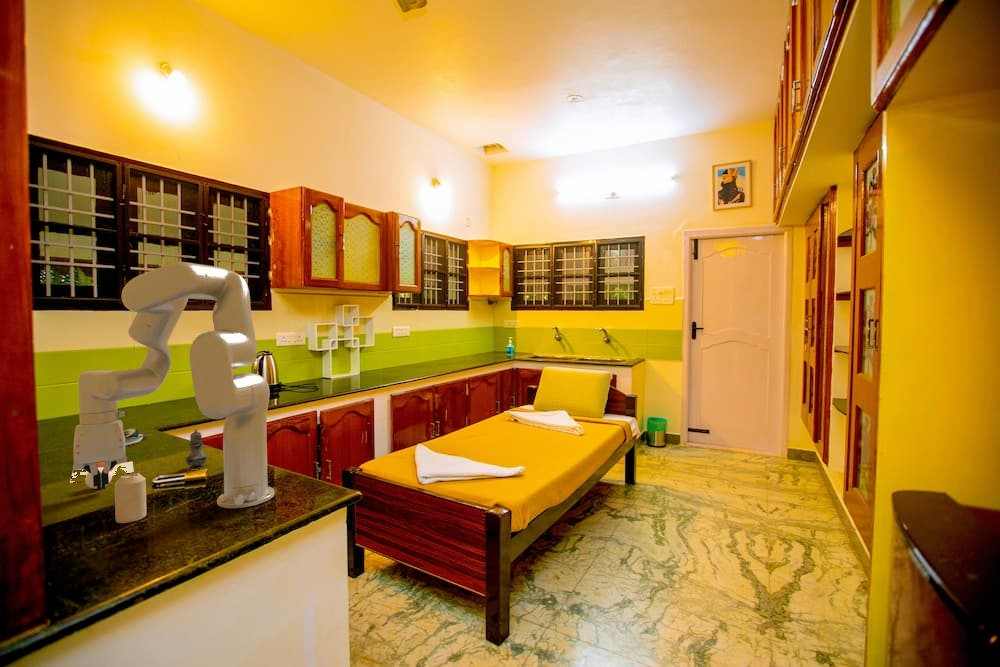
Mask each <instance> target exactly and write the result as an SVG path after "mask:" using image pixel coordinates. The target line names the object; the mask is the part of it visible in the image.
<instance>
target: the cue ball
mask: <svg viewBox="0 0 1000 667" xmlns="http://www.w3.org/2000/svg"><path fill="white" fill-rule="evenodd" d="M103 469H104V468H103V467H100V468H98V470H99V472H102V470H103ZM108 475H109V484H110V483H111V481H112V479H113V476H112V473H111V471H109V473H108ZM84 482H85V485H86V486H87V487H88V488H90V489H93V490H94V489H96V490H97V486H95V487H94V486H93V475H92V474H91V473H88V474H87V475H86V478H85V481H84ZM109 484H107V485H109ZM107 485H105V487H106V486H107ZM101 489H102V486H101Z"/></svg>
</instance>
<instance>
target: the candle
mask: <svg viewBox="0 0 1000 667" xmlns="http://www.w3.org/2000/svg"><path fill="white" fill-rule="evenodd" d="M146 480H147V479H146V477H144V476H143V475H142V474H140V473H139V472H134V473H132V474H125V475H120V477H119V478H118V480H117V481H115V483H114V508H115V510H114V511H115V515H114V516H115V522H116V523H117V524H126V523H132V522H136V521H139V520H142V519H144V518H146V516H147V487H146V486H147V482H146Z"/></svg>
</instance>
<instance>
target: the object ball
mask: <svg viewBox="0 0 1000 667" xmlns="http://www.w3.org/2000/svg"><path fill="white" fill-rule="evenodd" d="M96 464H97V468H100V467H103V468H104V465H105V462H100V463H96ZM113 469H114V467H113V468H112V469H111V470H110V471H112V470H113Z"/></svg>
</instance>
